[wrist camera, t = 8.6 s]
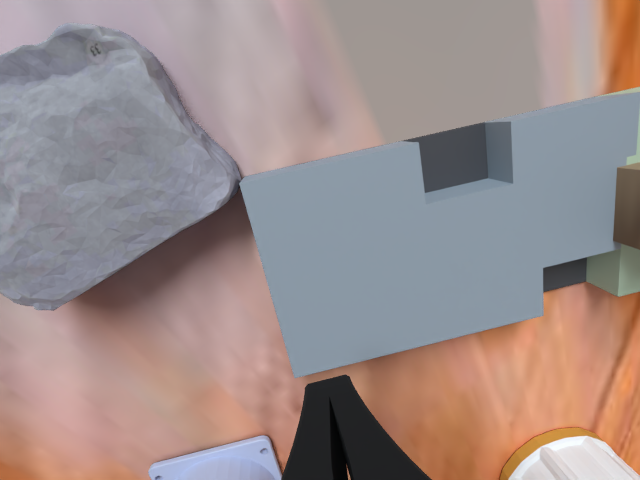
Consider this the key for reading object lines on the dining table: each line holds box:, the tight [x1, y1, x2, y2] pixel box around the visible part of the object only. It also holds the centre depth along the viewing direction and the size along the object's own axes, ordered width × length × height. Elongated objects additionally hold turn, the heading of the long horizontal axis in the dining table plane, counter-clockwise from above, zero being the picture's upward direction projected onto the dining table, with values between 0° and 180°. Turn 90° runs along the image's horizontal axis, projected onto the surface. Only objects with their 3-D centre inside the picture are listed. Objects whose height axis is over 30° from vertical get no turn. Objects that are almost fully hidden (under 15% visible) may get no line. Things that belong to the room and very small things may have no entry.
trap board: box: [239, 87, 640, 378], centre depth 18 cm, size 24×11×4 cm, turn 102°
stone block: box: [0, 23, 241, 311], centre depth 16 cm, size 12×5×10 cm
